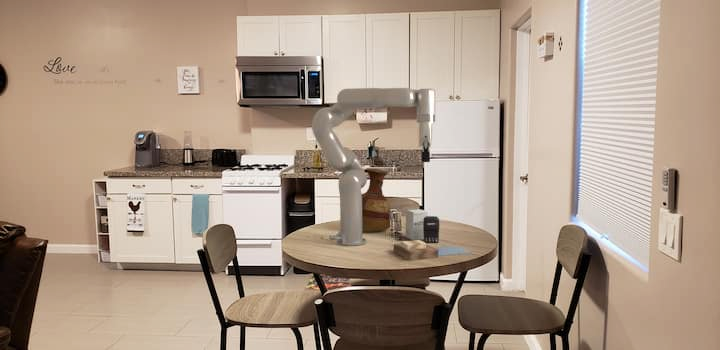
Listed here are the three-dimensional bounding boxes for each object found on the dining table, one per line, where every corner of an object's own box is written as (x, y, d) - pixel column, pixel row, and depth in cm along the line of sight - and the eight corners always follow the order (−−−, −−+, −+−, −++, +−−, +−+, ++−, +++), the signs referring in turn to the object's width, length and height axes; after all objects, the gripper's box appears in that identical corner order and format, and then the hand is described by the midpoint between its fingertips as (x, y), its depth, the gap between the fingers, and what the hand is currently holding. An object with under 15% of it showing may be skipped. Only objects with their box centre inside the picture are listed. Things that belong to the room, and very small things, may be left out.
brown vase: (389, 235, 253) (389, 170, 250) (346, 234, 256) (345, 170, 253) (393, 226, 273) (393, 166, 269) (353, 225, 276) (353, 166, 273)
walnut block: (410, 260, 208) (410, 252, 208) (393, 251, 222) (393, 244, 222) (438, 257, 213) (438, 249, 213) (420, 248, 227) (420, 241, 226)
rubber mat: (437, 256, 214) (437, 255, 214) (422, 249, 226) (422, 248, 226) (471, 252, 220) (471, 251, 220) (455, 246, 231) (455, 245, 231)
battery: (423, 243, 237) (423, 217, 235) (422, 241, 240) (422, 215, 239) (439, 243, 236) (440, 217, 235) (438, 241, 240) (439, 215, 239)
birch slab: (407, 249, 213) (407, 244, 212) (400, 246, 218) (400, 241, 218) (425, 248, 216) (425, 243, 215) (418, 244, 221) (418, 239, 221)
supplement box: (412, 240, 242) (412, 212, 241) (405, 237, 249) (405, 209, 248) (427, 239, 245) (427, 211, 243) (419, 235, 252) (419, 208, 250)
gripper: (417, 119, 234) (416, 159, 235) (416, 119, 217) (416, 162, 218) (434, 119, 233) (434, 159, 235) (435, 119, 216) (435, 162, 217)
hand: (425, 161), depth 226 cm, fingers open, 9 cm apart
